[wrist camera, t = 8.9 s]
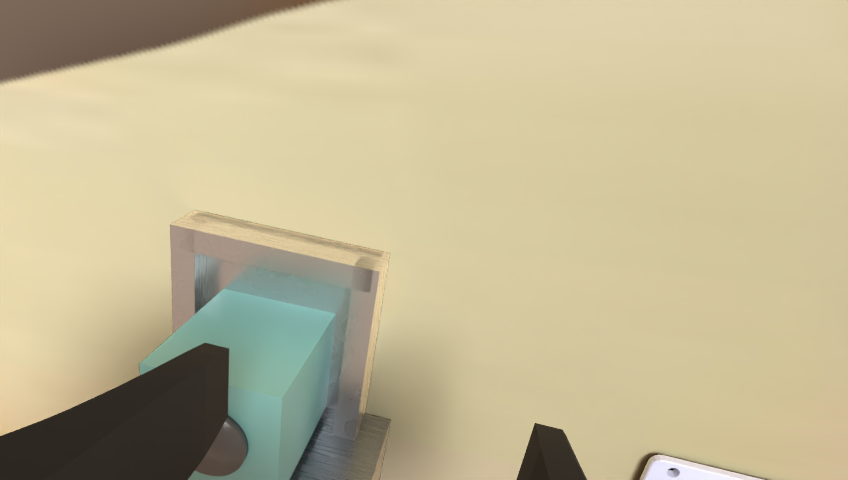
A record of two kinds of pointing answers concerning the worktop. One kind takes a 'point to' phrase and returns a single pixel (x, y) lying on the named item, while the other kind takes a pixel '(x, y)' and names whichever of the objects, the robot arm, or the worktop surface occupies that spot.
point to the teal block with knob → (260, 381)
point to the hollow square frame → (309, 287)
